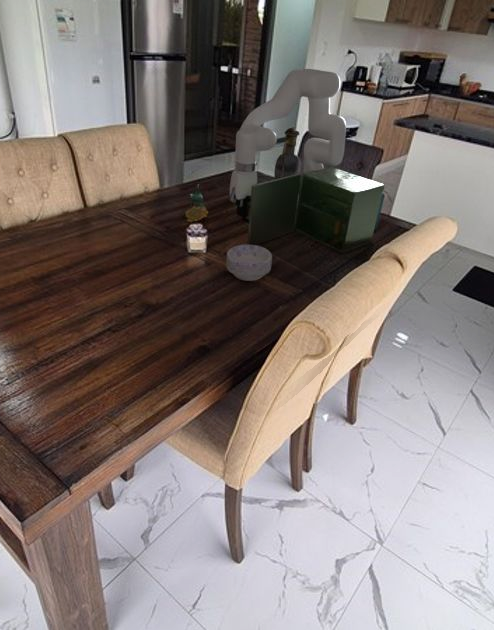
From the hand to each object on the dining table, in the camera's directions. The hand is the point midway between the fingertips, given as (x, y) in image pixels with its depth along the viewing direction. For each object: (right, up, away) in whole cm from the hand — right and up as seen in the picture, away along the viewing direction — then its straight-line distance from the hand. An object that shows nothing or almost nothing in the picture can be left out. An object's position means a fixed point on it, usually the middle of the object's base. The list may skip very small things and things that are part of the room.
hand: (242, 214), depth 175 cm
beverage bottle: (+54, -2, +22) cm, 59 cm away
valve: (+39, -5, +15) cm, 42 cm away
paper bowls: (+2, -25, -18) cm, 31 cm away
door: (+9, -7, +9) cm, 15 cm away
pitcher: (+22, +27, +62) cm, 71 cm away
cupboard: (+37, -6, +13) cm, 39 cm away
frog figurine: (-19, +5, +24) cm, 31 cm away
